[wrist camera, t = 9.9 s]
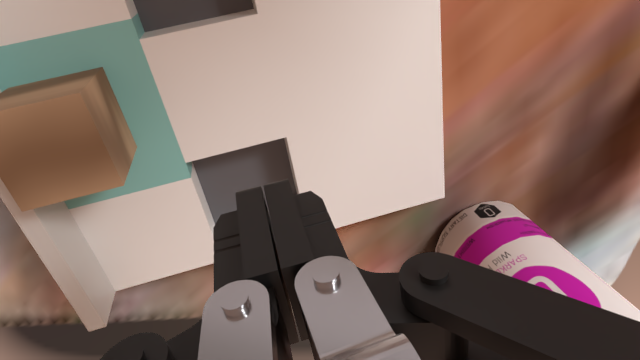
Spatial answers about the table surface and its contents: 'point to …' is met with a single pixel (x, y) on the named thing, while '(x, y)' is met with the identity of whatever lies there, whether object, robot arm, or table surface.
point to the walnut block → (63, 139)
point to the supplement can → (526, 255)
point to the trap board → (229, 121)
